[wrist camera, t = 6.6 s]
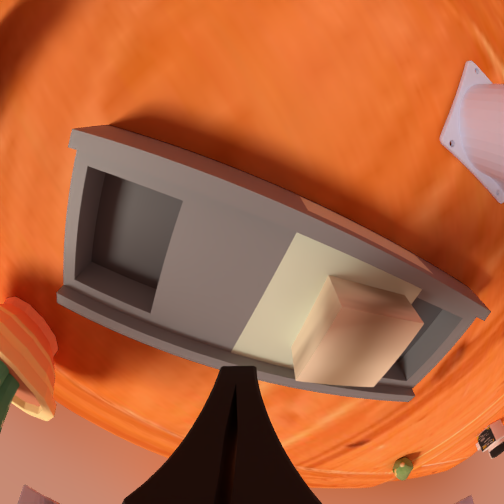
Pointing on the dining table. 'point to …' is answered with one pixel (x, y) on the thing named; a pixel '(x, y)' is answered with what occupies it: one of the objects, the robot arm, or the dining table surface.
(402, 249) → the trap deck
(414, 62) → the dining table surface
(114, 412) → the dining table surface
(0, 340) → the potted cactus
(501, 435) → the medicine bottle
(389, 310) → the birch block
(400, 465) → the edible corn
